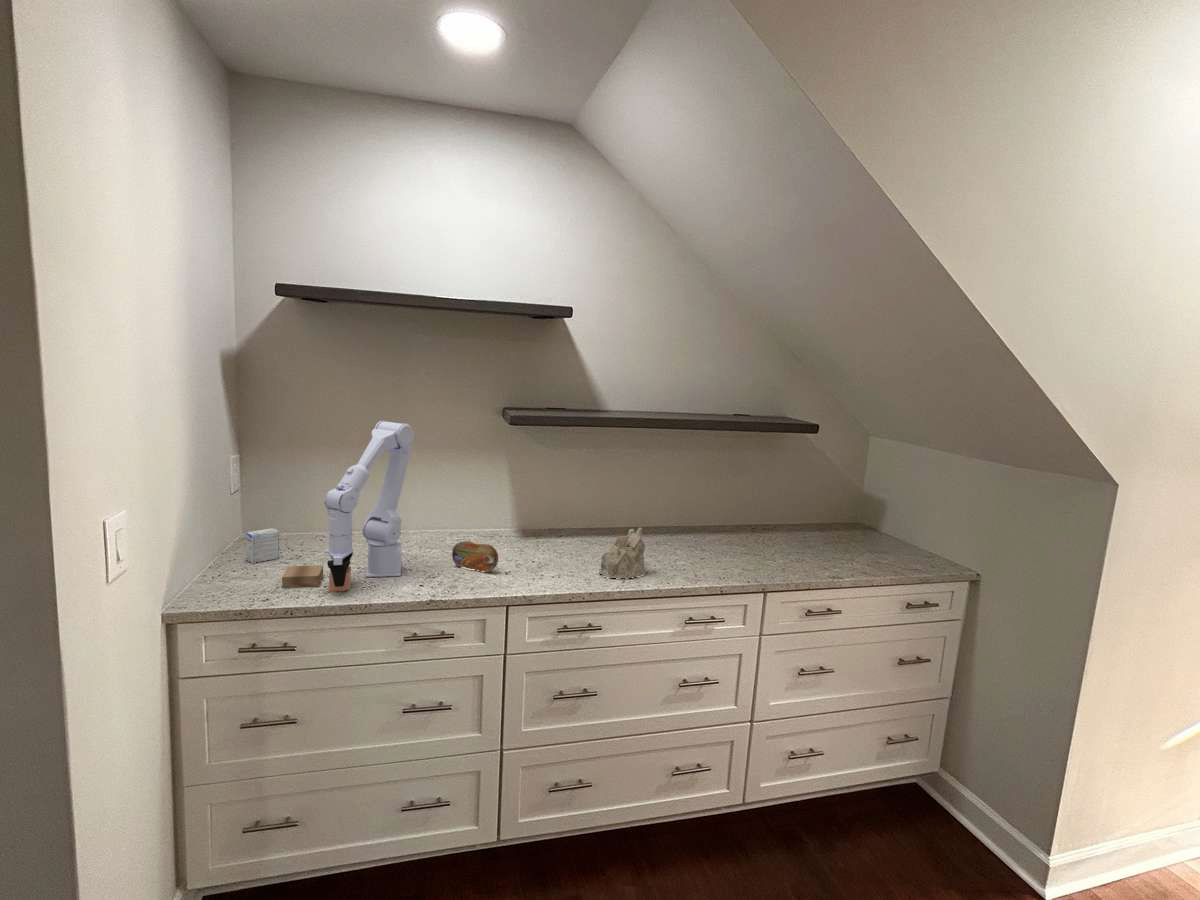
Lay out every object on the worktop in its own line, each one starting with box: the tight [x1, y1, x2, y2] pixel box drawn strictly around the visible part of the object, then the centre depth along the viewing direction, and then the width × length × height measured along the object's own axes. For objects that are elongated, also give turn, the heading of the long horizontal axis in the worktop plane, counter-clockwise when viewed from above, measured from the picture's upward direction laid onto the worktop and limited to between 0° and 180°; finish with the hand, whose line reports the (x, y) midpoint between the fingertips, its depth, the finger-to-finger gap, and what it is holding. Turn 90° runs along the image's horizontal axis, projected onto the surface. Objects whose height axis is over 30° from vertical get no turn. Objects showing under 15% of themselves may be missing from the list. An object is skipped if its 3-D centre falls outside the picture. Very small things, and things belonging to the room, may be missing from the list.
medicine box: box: [245, 527, 281, 564], centre depth 188 cm, size 8×4×9 cm, turn 141°
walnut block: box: [281, 564, 324, 589], centre depth 173 cm, size 9×9×3 cm
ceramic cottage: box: [598, 527, 646, 578], centre depth 197 cm, size 16×16×15 cm
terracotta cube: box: [328, 565, 352, 592], centre depth 170 cm, size 5×5×5 cm
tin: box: [451, 540, 499, 573], centre depth 191 cm, size 15×3×8 cm, turn 68°
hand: (340, 582), depth 170 cm, fingers closed on terracotta cube, 5 cm apart
